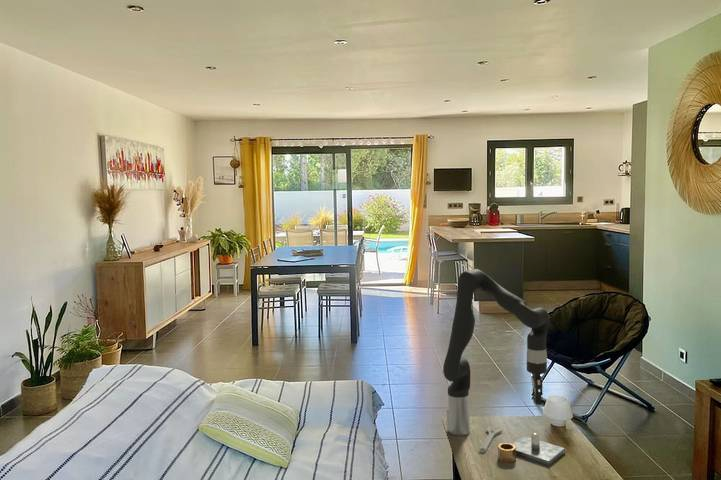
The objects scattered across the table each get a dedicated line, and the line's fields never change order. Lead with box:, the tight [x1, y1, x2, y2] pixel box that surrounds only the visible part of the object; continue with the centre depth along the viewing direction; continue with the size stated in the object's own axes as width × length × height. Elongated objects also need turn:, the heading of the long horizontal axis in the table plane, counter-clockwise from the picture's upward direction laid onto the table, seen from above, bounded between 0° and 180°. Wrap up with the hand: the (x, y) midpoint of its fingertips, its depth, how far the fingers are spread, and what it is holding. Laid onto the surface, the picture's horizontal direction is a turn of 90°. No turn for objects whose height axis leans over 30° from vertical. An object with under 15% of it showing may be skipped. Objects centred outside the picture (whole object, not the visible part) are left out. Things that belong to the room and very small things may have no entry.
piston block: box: [511, 432, 566, 467], centre depth 215 cm, size 18×14×8 cm
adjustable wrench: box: [478, 425, 503, 454], centre depth 229 cm, size 25×6×2 cm, turn 148°
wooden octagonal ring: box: [497, 442, 517, 464], centre depth 211 cm, size 6×6×5 cm
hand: (536, 399), depth 207 cm, fingers open, 8 cm apart
